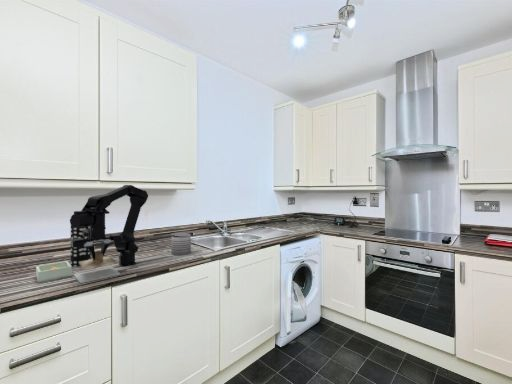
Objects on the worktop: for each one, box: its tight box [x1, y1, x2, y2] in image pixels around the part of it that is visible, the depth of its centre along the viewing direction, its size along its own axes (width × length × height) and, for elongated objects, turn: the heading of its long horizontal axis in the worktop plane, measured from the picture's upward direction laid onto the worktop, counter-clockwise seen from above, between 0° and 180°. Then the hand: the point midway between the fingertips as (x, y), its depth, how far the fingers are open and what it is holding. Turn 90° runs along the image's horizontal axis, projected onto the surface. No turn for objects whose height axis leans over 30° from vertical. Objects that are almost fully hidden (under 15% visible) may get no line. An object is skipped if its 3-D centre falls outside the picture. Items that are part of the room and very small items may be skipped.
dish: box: [35, 260, 73, 284], centre depth 107 cm, size 11×11×4 cm
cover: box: [79, 250, 118, 271], centre depth 109 cm, size 12×12×5 cm
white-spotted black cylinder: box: [70, 225, 92, 267], centre depth 125 cm, size 8×8×20 cm
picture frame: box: [73, 266, 121, 284], centre depth 109 cm, size 15×13×1 cm
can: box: [170, 232, 192, 257], centre depth 147 cm, size 11×11×12 cm
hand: (97, 259), depth 109 cm, fingers closed on cover, 2 cm apart
